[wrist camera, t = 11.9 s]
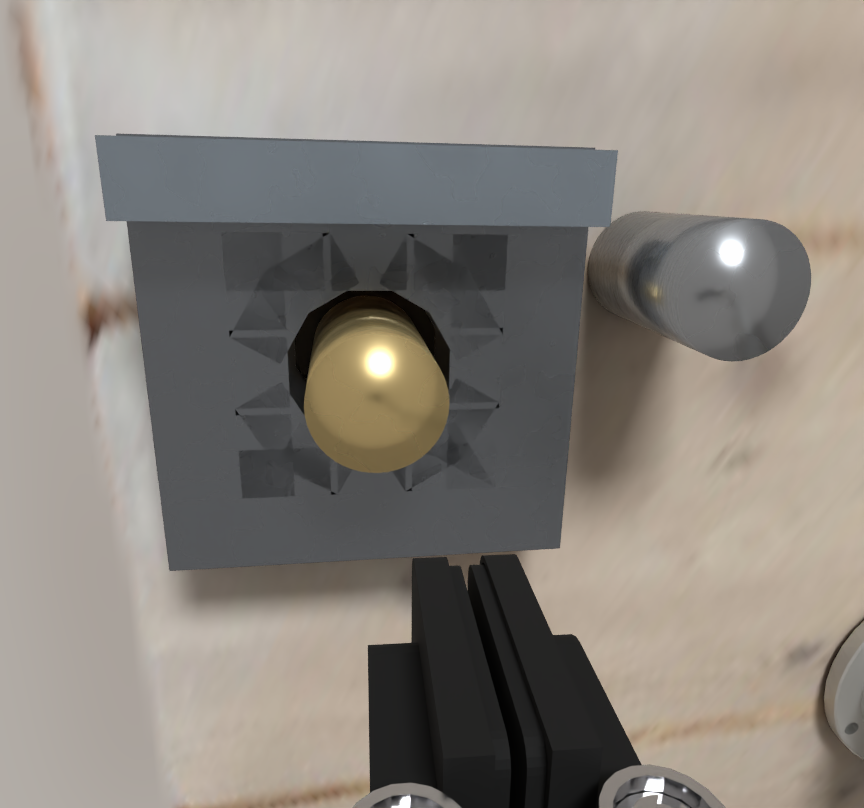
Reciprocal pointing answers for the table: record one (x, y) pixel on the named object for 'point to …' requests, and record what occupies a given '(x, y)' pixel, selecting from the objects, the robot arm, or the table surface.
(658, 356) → the table surface
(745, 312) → the metal cylinder plug
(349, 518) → the jig
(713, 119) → the table surface
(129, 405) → the table surface
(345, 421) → the brass cylinder plug
